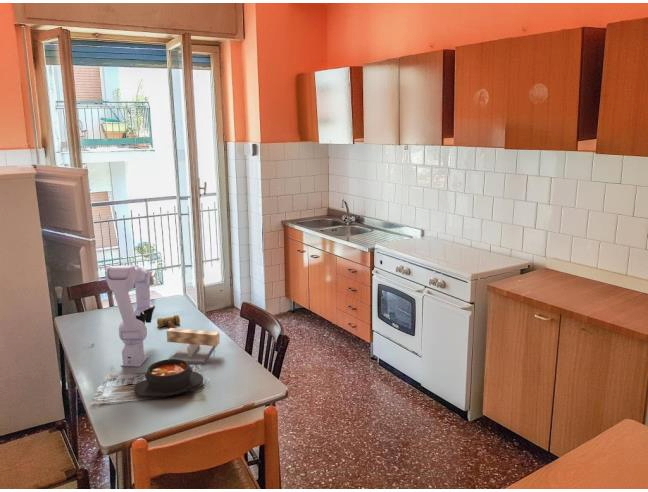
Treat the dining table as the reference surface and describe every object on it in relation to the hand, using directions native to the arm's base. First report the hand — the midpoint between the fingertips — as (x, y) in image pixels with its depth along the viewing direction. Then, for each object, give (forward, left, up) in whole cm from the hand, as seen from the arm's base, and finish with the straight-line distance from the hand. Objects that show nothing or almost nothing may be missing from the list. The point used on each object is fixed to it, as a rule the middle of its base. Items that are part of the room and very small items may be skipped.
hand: (145, 325), depth 238 cm
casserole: (-38, -23, -10) cm, 46 cm away
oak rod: (-7, -23, -4) cm, 25 cm away
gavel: (+19, -6, -10) cm, 22 cm away
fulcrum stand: (-7, -23, -9) cm, 26 cm away
